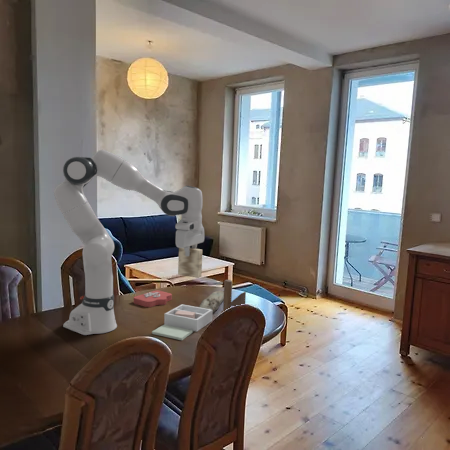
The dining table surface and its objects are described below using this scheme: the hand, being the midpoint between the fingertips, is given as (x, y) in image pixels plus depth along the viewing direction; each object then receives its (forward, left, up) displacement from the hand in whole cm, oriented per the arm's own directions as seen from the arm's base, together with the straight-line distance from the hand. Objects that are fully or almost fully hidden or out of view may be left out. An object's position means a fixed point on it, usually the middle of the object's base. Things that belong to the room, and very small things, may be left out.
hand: (190, 255), depth 182 cm
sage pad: (0, -14, -31) cm, 34 cm away
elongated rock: (-1, +28, -31) cm, 42 cm away
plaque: (-29, +18, -31) cm, 46 cm away
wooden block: (+16, +12, -31) cm, 37 cm away
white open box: (0, 0, -31) cm, 31 cm away
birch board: (0, 0, -9) cm, 9 cm away
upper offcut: (0, -4, -28) cm, 28 cm away
